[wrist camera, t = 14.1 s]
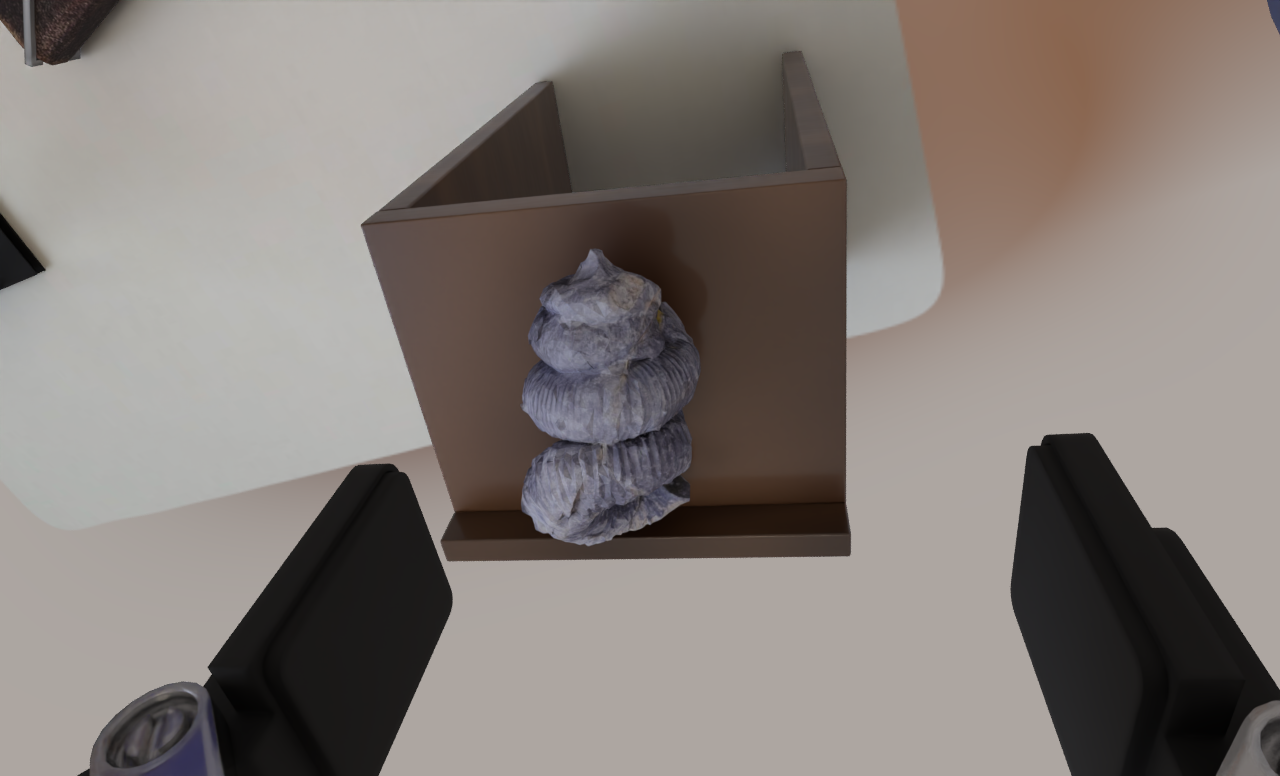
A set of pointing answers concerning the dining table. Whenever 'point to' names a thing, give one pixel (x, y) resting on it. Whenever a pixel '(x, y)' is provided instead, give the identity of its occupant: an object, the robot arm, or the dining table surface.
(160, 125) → the dining table surface
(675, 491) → the seashell
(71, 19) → the book
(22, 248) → the handbag
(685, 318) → the shelf
